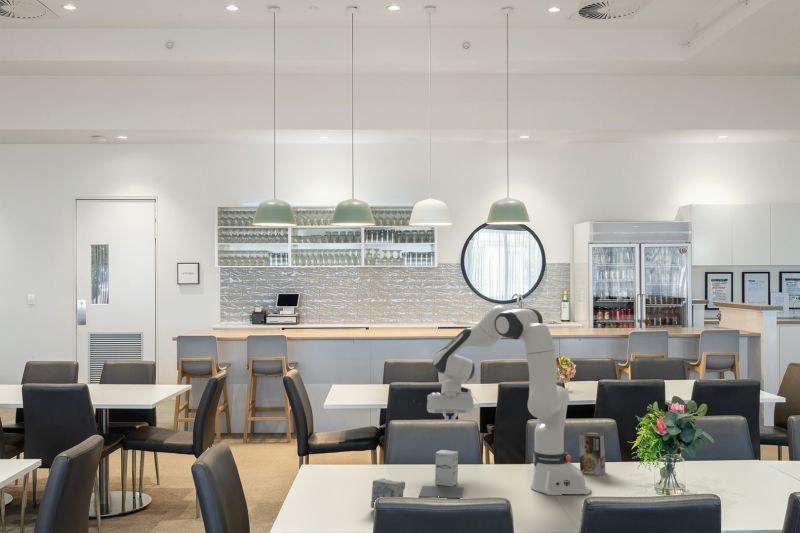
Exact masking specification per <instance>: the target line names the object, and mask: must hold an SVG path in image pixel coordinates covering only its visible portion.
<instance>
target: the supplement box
mask: <svg viewBox="0 0 800 533" xmlns="http://www.w3.org/2000/svg"><path fill="white" fill-rule="evenodd" d="M434 464H435V472H434V473H435V475H434V480H435V481H434V483H435V484H434V485H435V486H442V487H455V485H457V484H458V479H459V478H458V474H459V473H458V472H459V451H457V450H449V449H448V450H447V449H440V450H438V451H436V452H435V463H434Z"/></svg>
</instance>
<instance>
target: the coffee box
mask: <svg viewBox="0 0 800 533" xmlns="http://www.w3.org/2000/svg"><path fill="white" fill-rule="evenodd" d="M578 437H579V439H578V440H579V470H580V471H581V472H582V473H583V474H585V473H589V474H588V475H592V474H595V475H594V476H603V475H604V474H605V473H606V445H605V444H606V441H605V440H606V439H605V438H606V437H605V433H601V432H600V433H599V432H591V431H590V432H589V431H583V432H581V433H580V434H579V435H578Z"/></svg>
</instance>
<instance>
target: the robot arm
mask: <svg viewBox="0 0 800 533" xmlns="http://www.w3.org/2000/svg"><path fill="white" fill-rule="evenodd" d="M502 338H507V339H512V340H518V339H521V340H522V342H523V343H524V347H525V353H526V354H525V355H526V360H527V367H528V373H529V381H528V382H529V385H528V388H529V390H528V399H527V409H528V412H529V414H531V415H532V417H535V418H537V422H536V426H535V428H534V450H533V454H532V456H533V458H532V459H533V466H534V468H533V469H534V470H533V475H532V476H533V477H532V482H531V485H530V488H531V489H532V490H534V491H536V492H539V493H543V494H546V495H548V496H563V495H562V494H585V495H590V494H591V493H592V488H591V485H590V484H589V483H587V482H586V481H585V476H584V473H582V472H581V471H580V468H578V467H576V466H575V464H573V463H571V461H572V456H571V455H570V453H568V452H567V451H566V450H565V441H564V440H565V425H566V418H567V411H568V404H569V401H570V396H569V392H568V390H566V389H565V388H564V387H563V386H561V385H558V384H557V379H558V372H559V371H558V370H559V368H558V362H557V356H556V350H555V345H554V340H553V337H552V334H551V332H550V328H549V327H548V325H546V324H544V322H543V316H542V314H541V312H540V311H538V310H536V309H535V308H530V307H528V308H513V309H510V310H509V309H508V308H507V307H505V306H503V305H495V306H493V307H492V308H491V309H489V311H488V312H487V313H485V315H484V316H483V317H482V318H481V319H480V321H479V322H478V323H477V324H475V325H473V326H471V327H467V328H464V329H463V330H462V331H461V332H459V333H458V334H457V335H456V336H455V337H454V338H453V339H452V340H451V341H449V342H448V344H447V345H446V346H445V347H443V348H441V349H440V350H439V351H437V352H436V353H435V355H434V356H433V359H432V365H433V368H434V370H435V372H437V373H440V374H442V376H441V381H442V384H441V388H440V389H441V392H430V393H429V394H428V395H427V397H426V400H427V403H426V411H427V412H428V413H431V414H442V416H443V417H444V421H445V422H449V418H450V417H449V415H447V414H453V415H451V422H456V418H457V417H458V416H459V414H473V413H474V412H475V402H474V398H473V396H472V391H471V390H472V389H471V388H469V387H468V388H467V387H463V386H462V385H463V384H466V383H467V382H468V381H470V380H472V379H473V378H474V375H475V371H476V367H475V363H474V361H473V360H471V359H470V358H467V357H465V356H461V355H458V354H457V353H458V352H460V351H461V349H463V348H465V347H478V348H479V347H480V348H490V347H493V346H494V345H497V343H498V342H500V340H501V339H502Z"/></svg>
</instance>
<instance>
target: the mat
mask: <svg viewBox="0 0 800 533" xmlns="http://www.w3.org/2000/svg"><path fill="white" fill-rule="evenodd" d="M463 493H464V486H453V487H451V486H443V485H435V486H434V485H422V487H421V489H420V490H419V494H418V498H427V497H438V496H439V497H442V498H441V499H454V498H462V499H463Z"/></svg>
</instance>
